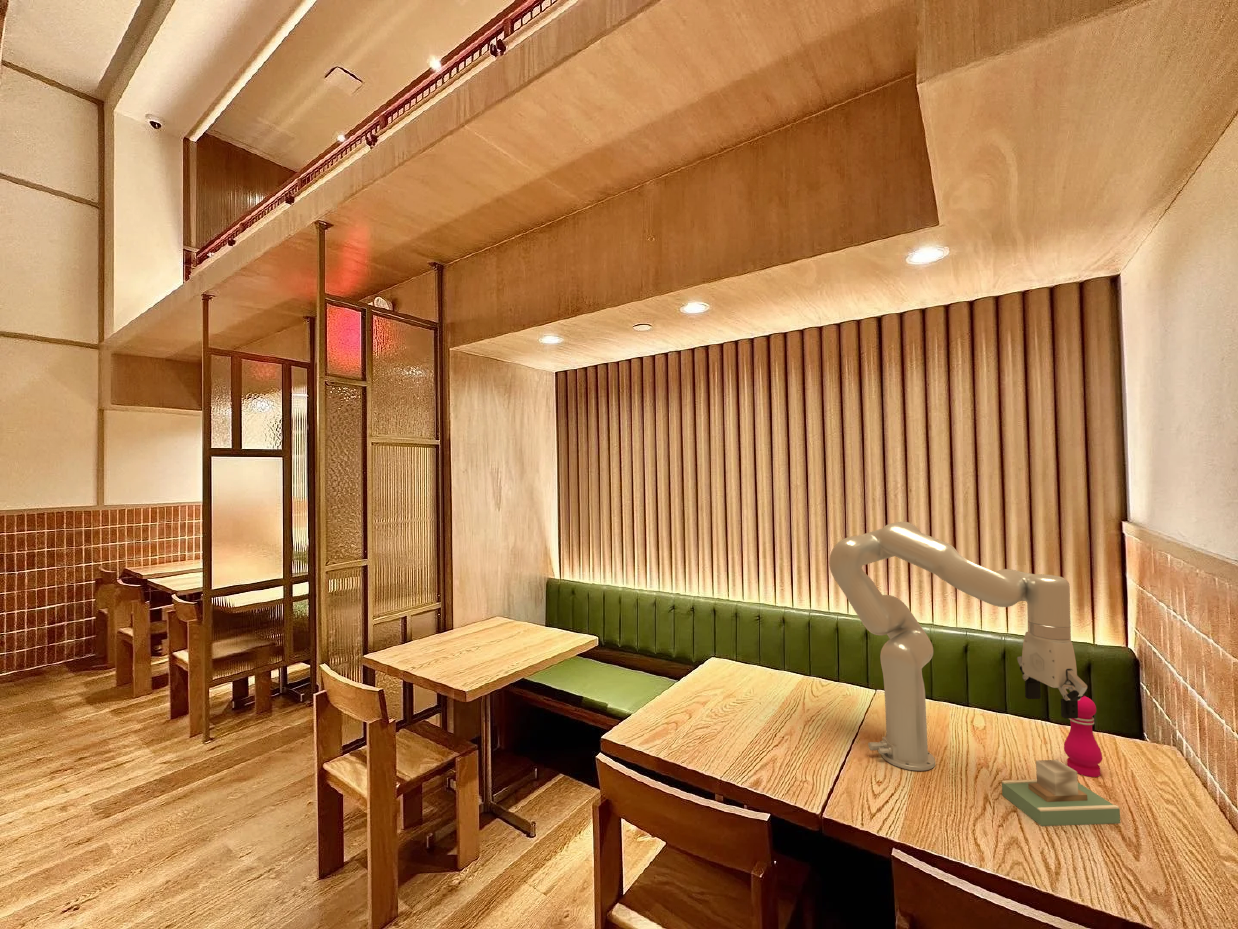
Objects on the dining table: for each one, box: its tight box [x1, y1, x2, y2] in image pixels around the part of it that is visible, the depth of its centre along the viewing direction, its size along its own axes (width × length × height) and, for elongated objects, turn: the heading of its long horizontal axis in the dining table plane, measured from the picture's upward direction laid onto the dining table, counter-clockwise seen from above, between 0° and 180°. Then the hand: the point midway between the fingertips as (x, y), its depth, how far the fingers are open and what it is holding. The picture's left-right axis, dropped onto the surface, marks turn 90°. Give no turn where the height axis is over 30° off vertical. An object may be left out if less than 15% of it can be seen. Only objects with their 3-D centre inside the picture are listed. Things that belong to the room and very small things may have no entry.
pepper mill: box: [1063, 695, 1103, 778], centre depth 132 cm, size 7×7×20 cm
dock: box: [1001, 778, 1121, 827], centre depth 117 cm, size 17×11×3 cm, turn 91°
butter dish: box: [1028, 759, 1087, 802], centre depth 117 cm, size 9×5×6 cm, turn 92°
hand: (1050, 707), depth 118 cm, fingers open, 9 cm apart
